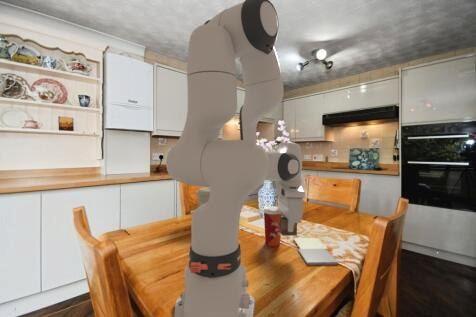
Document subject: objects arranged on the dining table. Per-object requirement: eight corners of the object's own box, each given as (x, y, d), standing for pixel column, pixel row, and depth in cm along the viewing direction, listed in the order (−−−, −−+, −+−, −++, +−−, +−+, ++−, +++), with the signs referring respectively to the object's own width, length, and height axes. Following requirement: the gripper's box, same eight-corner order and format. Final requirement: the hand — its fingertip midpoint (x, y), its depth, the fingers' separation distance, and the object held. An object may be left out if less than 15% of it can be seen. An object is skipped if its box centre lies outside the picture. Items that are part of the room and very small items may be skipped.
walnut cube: (296, 235, 77) (297, 220, 77) (282, 235, 77) (282, 220, 77) (292, 231, 82) (293, 217, 82) (279, 230, 82) (279, 216, 82)
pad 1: (327, 250, 83) (327, 248, 83) (300, 251, 82) (300, 248, 82) (317, 239, 93) (317, 238, 93) (293, 240, 92) (293, 238, 92)
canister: (189, 223, 114) (189, 181, 113) (217, 216, 126) (217, 178, 126) (210, 232, 101) (209, 185, 100) (239, 223, 113) (239, 182, 112)
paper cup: (275, 249, 84) (275, 211, 83) (259, 243, 89) (259, 208, 88) (286, 243, 89) (286, 208, 89) (270, 238, 95) (270, 204, 94)
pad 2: (338, 264, 73) (338, 262, 73) (307, 264, 72) (307, 262, 72) (325, 250, 83) (325, 248, 83) (298, 251, 82) (298, 248, 82)
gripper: (274, 185, 89) (273, 220, 89) (286, 193, 69) (285, 238, 69) (290, 185, 90) (289, 220, 90) (306, 193, 69) (306, 238, 69)
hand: (287, 228), depth 79 cm, fingers closed on walnut cube, 5 cm apart
